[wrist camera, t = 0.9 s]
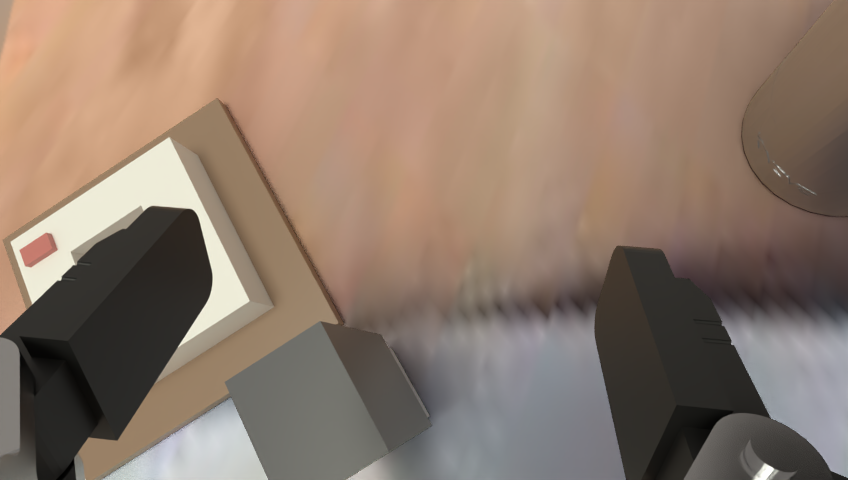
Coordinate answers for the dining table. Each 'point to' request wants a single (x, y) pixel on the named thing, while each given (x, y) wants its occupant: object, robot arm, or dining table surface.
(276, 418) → the plug
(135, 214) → the socket
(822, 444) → the dining table surface
